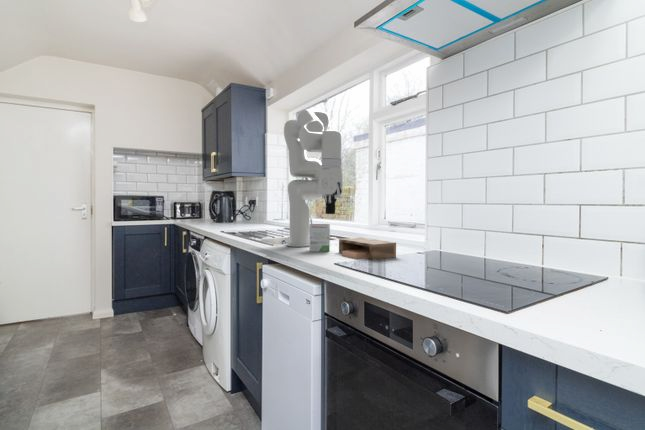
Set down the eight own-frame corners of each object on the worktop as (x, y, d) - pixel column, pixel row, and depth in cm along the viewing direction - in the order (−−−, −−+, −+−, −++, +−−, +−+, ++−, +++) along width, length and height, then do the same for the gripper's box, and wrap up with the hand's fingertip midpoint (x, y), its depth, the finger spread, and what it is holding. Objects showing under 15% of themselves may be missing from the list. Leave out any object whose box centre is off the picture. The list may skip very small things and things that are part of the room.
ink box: (309, 251, 148) (309, 223, 147) (310, 249, 153) (310, 223, 153) (329, 251, 147) (329, 224, 147) (330, 250, 152) (330, 223, 152)
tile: (341, 256, 137) (341, 250, 137) (369, 254, 145) (369, 248, 145) (356, 260, 129) (356, 253, 129) (383, 256, 137) (384, 250, 137)
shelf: (338, 252, 146) (339, 238, 145) (359, 250, 152) (360, 237, 152) (373, 259, 127) (373, 244, 127) (395, 257, 133) (396, 242, 133)
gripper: (312, 165, 133) (311, 212, 135) (334, 162, 121) (333, 215, 122) (328, 166, 137) (327, 212, 139) (351, 164, 125) (350, 214, 126)
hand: (330, 213), depth 130 cm, fingers closed
